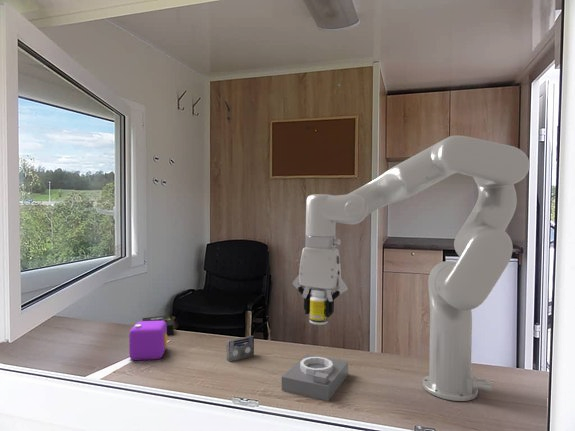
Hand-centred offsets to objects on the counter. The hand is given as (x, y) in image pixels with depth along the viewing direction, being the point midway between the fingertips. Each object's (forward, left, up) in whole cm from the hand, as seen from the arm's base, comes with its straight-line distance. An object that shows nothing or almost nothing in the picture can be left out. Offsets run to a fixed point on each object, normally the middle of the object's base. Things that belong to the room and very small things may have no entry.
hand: (318, 313), depth 99 cm
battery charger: (+66, -13, -18) cm, 70 cm away
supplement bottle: (0, 0, -2) cm, 2 cm away
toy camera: (+53, +4, -18) cm, 57 cm away
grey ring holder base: (0, 0, -18) cm, 18 cm away
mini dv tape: (+26, -5, -18) cm, 32 cm away
